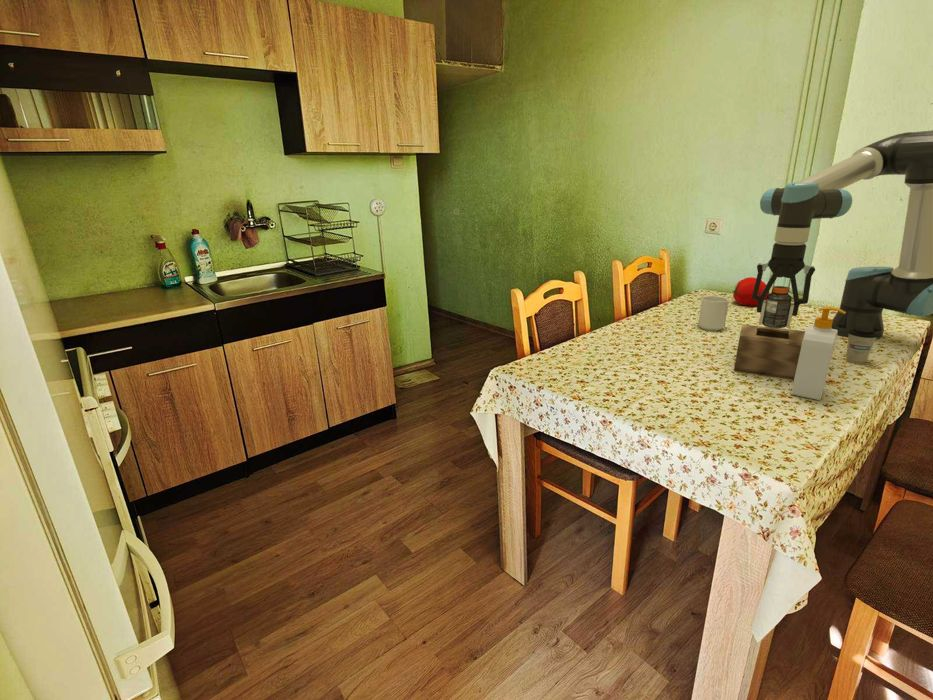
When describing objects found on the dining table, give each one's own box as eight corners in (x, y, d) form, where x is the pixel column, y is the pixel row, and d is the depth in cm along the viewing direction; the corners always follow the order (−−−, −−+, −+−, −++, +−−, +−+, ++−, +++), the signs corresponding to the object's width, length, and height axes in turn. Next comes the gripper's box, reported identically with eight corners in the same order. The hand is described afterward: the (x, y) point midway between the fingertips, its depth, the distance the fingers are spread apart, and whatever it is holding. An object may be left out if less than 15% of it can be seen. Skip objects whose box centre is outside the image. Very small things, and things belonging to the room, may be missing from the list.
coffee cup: (843, 355, 150) (851, 324, 147) (872, 360, 146) (880, 328, 142) (839, 361, 146) (847, 329, 142) (868, 367, 141) (877, 334, 138)
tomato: (762, 310, 210) (729, 310, 213) (760, 283, 213) (727, 283, 216) (774, 300, 198) (739, 300, 201) (772, 271, 201) (737, 272, 204)
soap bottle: (823, 402, 121) (844, 314, 113) (790, 395, 125) (809, 309, 118) (827, 390, 128) (847, 305, 120) (795, 383, 132) (813, 302, 124)
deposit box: (797, 365, 143) (805, 331, 140) (798, 380, 134) (807, 343, 130) (736, 357, 151) (742, 324, 148) (733, 370, 142) (739, 335, 138)
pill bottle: (784, 323, 140) (792, 285, 136) (787, 329, 135) (795, 289, 131) (760, 321, 142) (767, 284, 138) (762, 327, 137) (770, 288, 133)
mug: (720, 332, 174) (725, 303, 170) (694, 328, 180) (698, 299, 176) (729, 324, 183) (734, 296, 179) (704, 321, 188) (708, 293, 184)
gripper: (832, 242, 129) (813, 325, 136) (750, 239, 138) (737, 317, 146) (834, 246, 123) (814, 333, 130) (749, 243, 132) (735, 324, 140)
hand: (774, 324), depth 138 cm, fingers closed on pill bottle, 6 cm apart
